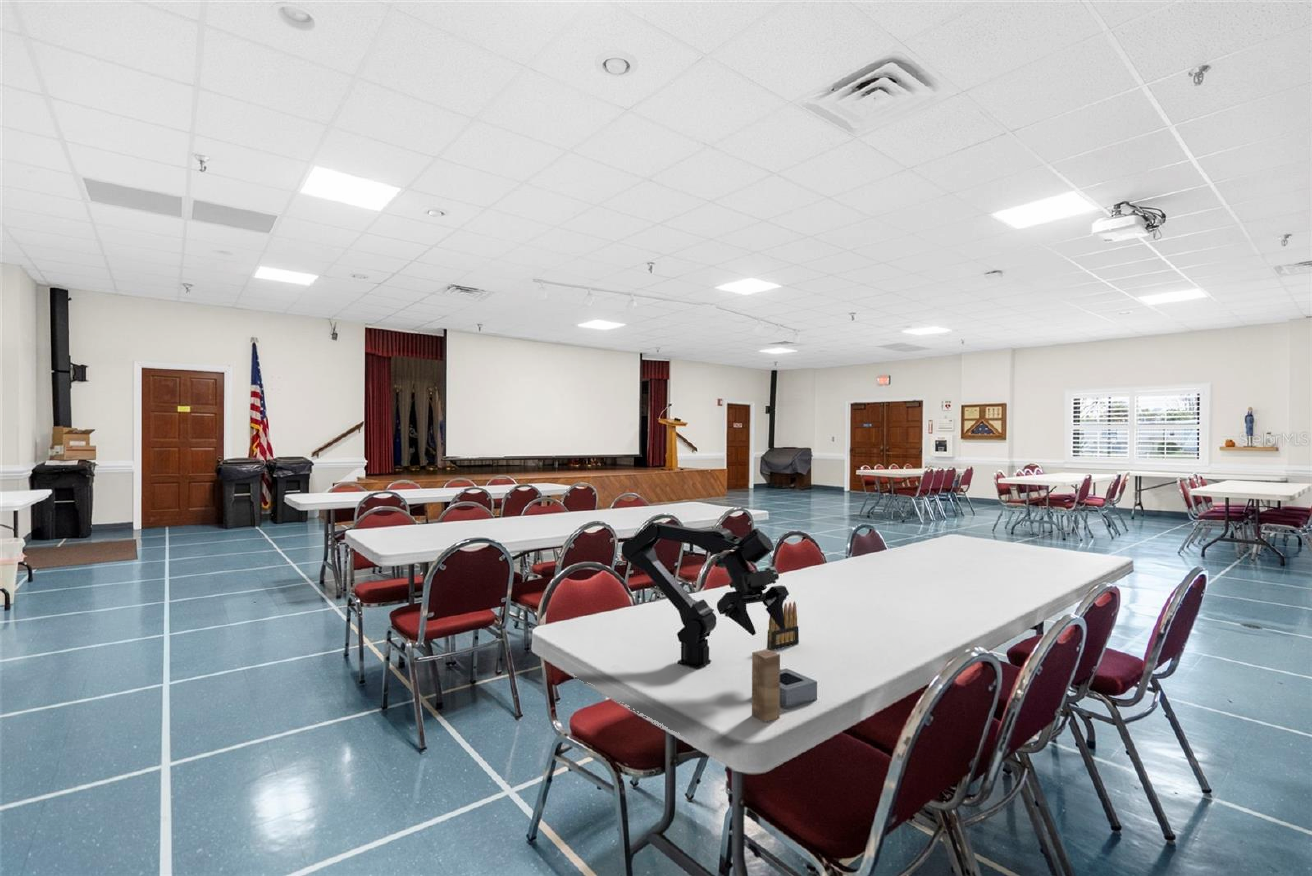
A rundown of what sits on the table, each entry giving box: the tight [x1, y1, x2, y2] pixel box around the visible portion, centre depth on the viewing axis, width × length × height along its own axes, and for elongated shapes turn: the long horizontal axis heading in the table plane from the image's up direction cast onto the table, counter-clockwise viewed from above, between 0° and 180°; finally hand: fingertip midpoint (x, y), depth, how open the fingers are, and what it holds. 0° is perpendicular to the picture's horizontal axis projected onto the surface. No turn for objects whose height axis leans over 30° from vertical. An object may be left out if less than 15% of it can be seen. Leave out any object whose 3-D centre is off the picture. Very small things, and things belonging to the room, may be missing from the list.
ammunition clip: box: [766, 601, 800, 651], centre depth 173 cm, size 11×2×12 cm, turn 124°
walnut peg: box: [751, 648, 781, 723], centre depth 127 cm, size 4×4×13 cm
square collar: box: [780, 668, 818, 710], centre depth 138 cm, size 9×9×4 cm
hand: (769, 631), depth 142 cm, fingers open, 9 cm apart
